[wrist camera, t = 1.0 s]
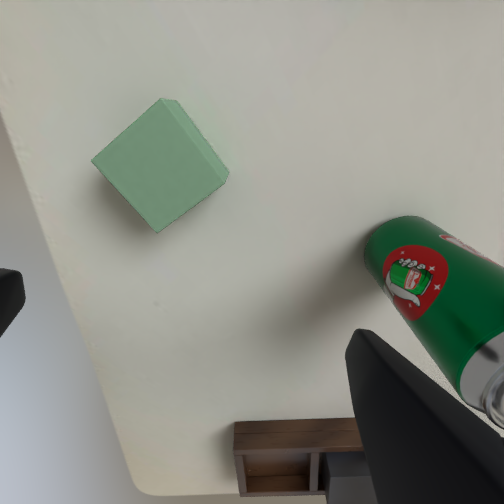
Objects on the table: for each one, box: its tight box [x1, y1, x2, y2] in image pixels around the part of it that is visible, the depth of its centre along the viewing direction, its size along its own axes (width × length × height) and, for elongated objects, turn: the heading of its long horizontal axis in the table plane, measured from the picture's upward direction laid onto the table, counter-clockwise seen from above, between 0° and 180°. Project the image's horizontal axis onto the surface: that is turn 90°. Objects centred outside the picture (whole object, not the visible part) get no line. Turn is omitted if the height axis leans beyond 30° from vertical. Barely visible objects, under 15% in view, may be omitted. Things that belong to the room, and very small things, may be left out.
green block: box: [91, 98, 229, 233], centre depth 17 cm, size 5×5×3 cm
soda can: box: [364, 216, 504, 429], centre depth 15 cm, size 5×5×12 cm
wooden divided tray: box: [233, 418, 378, 504], centre depth 28 cm, size 15×8×4 cm, turn 94°
